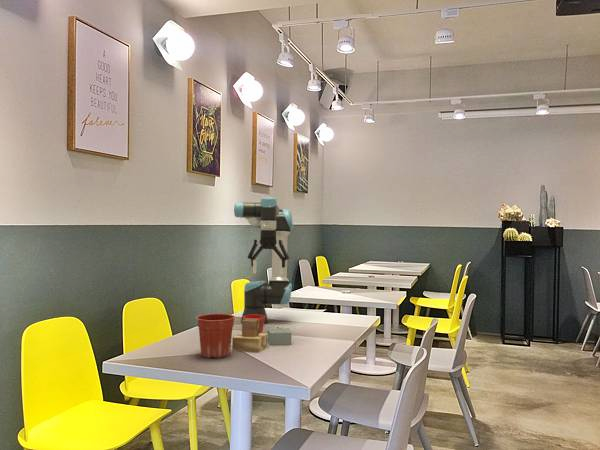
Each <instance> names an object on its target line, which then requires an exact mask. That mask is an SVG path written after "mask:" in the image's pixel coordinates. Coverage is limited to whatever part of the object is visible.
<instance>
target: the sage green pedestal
mask: <svg viewBox="0 0 600 450" xmlns="http://www.w3.org/2000/svg"><path fill="white" fill-rule="evenodd" d="M267 343H268V345H269V346H271V347H273V346H292V331H291V329H290V327H287V328H286V327H284V328H281V327H280V328H277V327H276V328H274V327H273V328H267Z"/></svg>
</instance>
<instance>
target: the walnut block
mask: <svg viewBox="0 0 600 450" xmlns="http://www.w3.org/2000/svg"><path fill="white" fill-rule="evenodd" d="M241 333H242V337H256V336H258V335H259V319H248V318H246V319H244V320H243V321H242V323H241Z"/></svg>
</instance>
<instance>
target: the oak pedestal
mask: <svg viewBox="0 0 600 450" xmlns="http://www.w3.org/2000/svg"><path fill="white" fill-rule="evenodd" d="M231 347H232V351H235V352H246V353H247V352H248V353H260V352H261V351H263V350H264V349H266V348H267V347H268V333H263V332H262V333H259V335H258V336H256V337H242V332H241V333H238V334H237V335H235V336H233V337H232V338H231Z"/></svg>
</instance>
